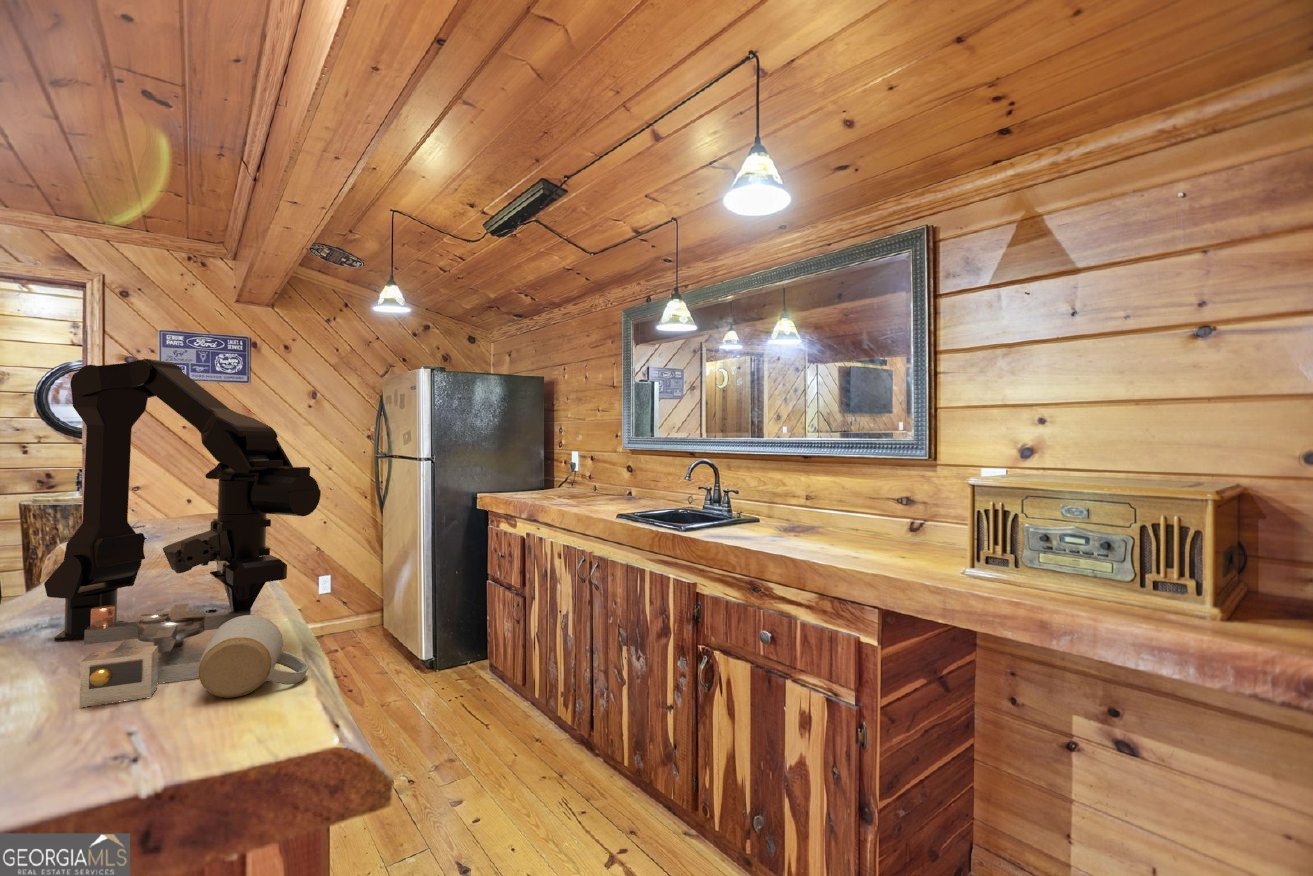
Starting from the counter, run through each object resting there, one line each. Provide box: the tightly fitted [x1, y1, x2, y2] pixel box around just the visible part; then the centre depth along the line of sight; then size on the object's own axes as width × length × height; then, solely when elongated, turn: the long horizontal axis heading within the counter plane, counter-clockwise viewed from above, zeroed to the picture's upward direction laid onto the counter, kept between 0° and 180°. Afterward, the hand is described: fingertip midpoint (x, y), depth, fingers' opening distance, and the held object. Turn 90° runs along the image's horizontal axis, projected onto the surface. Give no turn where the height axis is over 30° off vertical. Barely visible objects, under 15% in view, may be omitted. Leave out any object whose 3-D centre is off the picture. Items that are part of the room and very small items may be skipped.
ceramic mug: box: [198, 614, 309, 699], centre depth 72 cm, size 11×8×8 cm
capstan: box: [83, 603, 252, 653], centre depth 79 cm, size 17×17×4 cm
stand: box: [78, 629, 217, 709], centre depth 77 cm, size 24×12×5 cm, turn 29°
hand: (239, 622), depth 85 cm, fingers closed
